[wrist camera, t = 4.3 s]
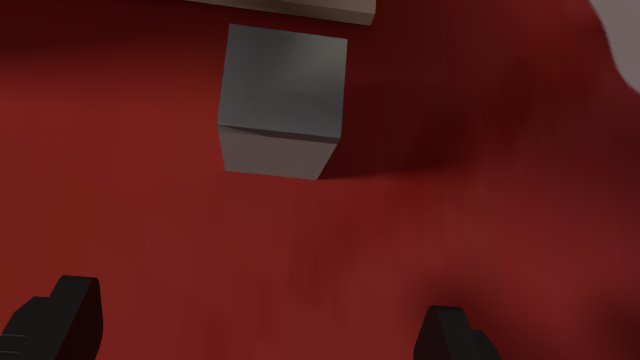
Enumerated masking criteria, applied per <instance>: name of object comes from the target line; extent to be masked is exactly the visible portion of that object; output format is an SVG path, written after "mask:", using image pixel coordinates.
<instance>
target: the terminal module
mask: <svg viewBox="0 0 640 360" xmlns="http://www.w3.org/2000/svg"><path fill="white" fill-rule="evenodd" d="M346 54H347V39H342V38H334V37H327V36H319V35H312V34H304V33H297V32H289V31H282V30H274V29H267V28H260V27H252V26H245V25H237V24H229V32H228V40H227V48H226V56H225V64H224V72H223V80H222V88H221V96H220V104H219V112H218V120H217V127H218V133H219V138H220V144H221V149H222V155H223V160H224V166H225V171H234V172H244V173H254V174H264V175H274V176H284V177H293V178H303V179H313V180H317V178H318V177H319V175H320V173H321V172H322V170H323V168H324V166H325V165H326V163H327V161H328V160H329V158H330V156H331V154H332V153H333V151H334V149H335V147H336V146H337V144H338V142H339V141H340V139H341V129H342V114H343V99H344V84H345V69H346Z"/></svg>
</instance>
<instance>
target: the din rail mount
mask: <svg viewBox="0 0 640 360" xmlns="http://www.w3.org/2000/svg"><path fill="white" fill-rule="evenodd" d="M186 1H193V2H201V3H208V4H215V5H222V6H230V7H237V8H244V9H252V10H259V11H266V12H273V13H281V14H288V15H295V16H303V17H310V18H317V19H325V20H332V21H339V22H346V23H354V24H361V25H368V26H370V25H371V23H372V20H373V18H374V16H375V10H376V0H186Z"/></svg>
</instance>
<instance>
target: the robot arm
mask: <svg viewBox="0 0 640 360" xmlns="http://www.w3.org/2000/svg"><path fill="white" fill-rule="evenodd" d="M102 334H103V315H102V305H101V295H100V285H99V280H98V279H97V278H93V277H80V276H67V275H63V276H62V277H61V278H60V279H59V280H58V282H57V284H56V286H55V287H54V289H53V291H52V293H51V295H50V296H49V297H37V296H34V297H33V298H32V299H30V300H29V301H28V302H27V303H25V304H24V305H23V306H22V307H21V308H19V309H18V310H17V311H16V312H14V314H13V315H12V317H11V319H10V320H9V322H8V324H7V325H6V327H5V328H4V330H3V332H2V336H1V337H0V360H95V358H96V355H97V353H98V350H99V347H100V344H101V340H102ZM413 360H501V359H500V356H499V354H498V351H497V349H496V347H495V346H494V345H493V344H492V342H491V341H490V340H489V339H488V338H487V337H486V335H485V334H484V333H483V332H482V331H481V330H471V329H470V326H469V323H468V321H467V318H466V315H465V313H464V311H463V309H462V308H460V307H448V306H435V305H431V306H430V307H429V308H428V311H427V313H426V316H425V319H424V322H423V324H422V327H421V330H420V333H419V336H418V338H417V341H416V344H415V348H414V355H413Z"/></svg>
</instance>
